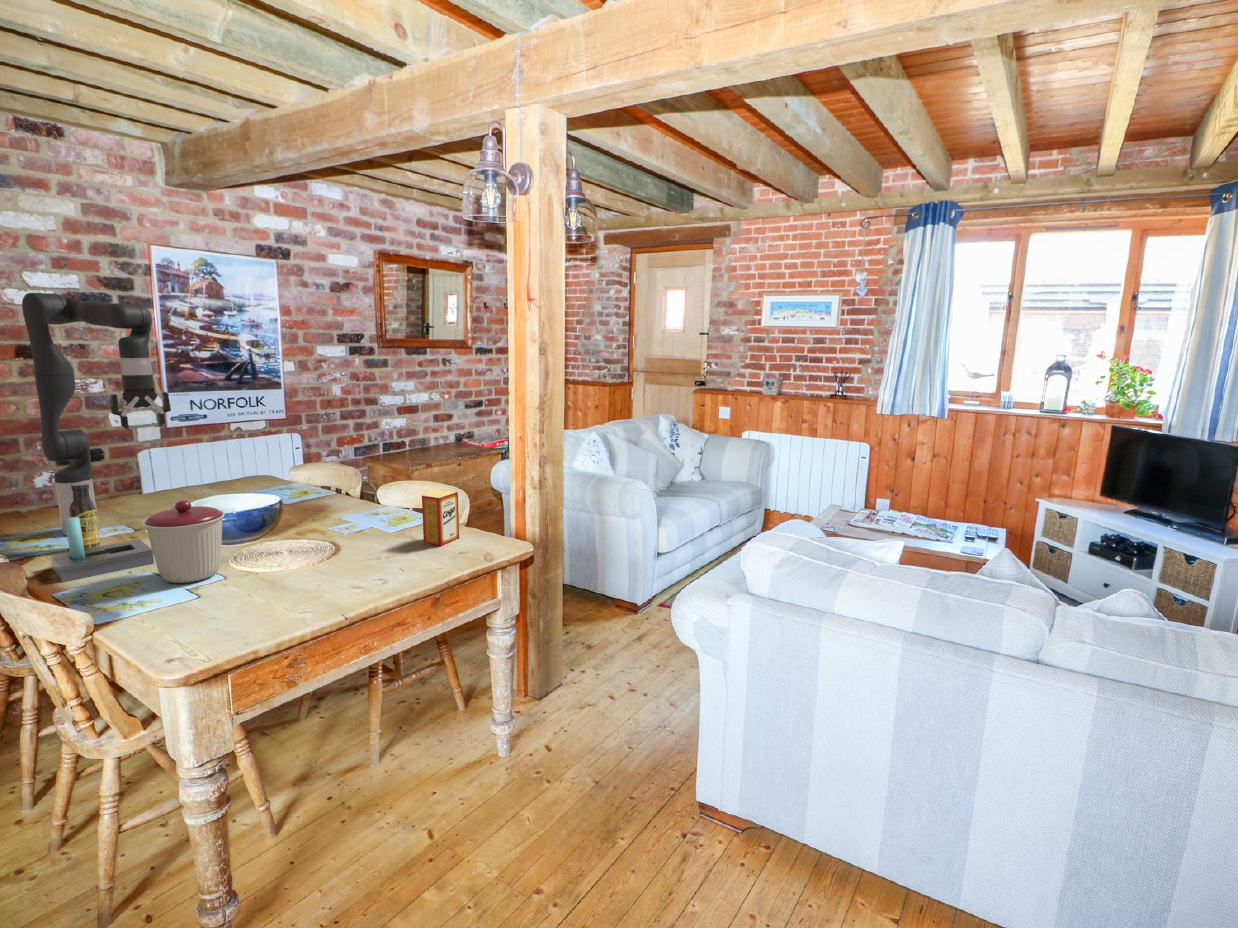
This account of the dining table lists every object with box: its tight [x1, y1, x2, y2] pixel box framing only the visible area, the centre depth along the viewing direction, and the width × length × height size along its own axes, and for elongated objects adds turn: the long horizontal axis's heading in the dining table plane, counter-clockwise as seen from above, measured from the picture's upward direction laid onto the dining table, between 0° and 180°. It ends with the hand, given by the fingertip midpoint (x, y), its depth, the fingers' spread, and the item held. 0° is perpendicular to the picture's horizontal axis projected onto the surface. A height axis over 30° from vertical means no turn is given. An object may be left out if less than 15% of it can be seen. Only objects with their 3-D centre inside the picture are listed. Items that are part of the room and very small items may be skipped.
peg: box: [65, 517, 85, 560], centre depth 174 cm, size 5×5×15 cm
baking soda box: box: [421, 489, 460, 548], centre depth 205 cm, size 10×6×16 cm
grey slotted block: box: [50, 538, 155, 583], centre depth 179 cm, size 14×20×4 cm
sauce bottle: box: [69, 483, 101, 549], centre depth 192 cm, size 7×6×20 cm
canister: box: [141, 500, 226, 584], centre depth 171 cm, size 18×18×21 cm
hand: (143, 427), depth 194 cm, fingers open, 8 cm apart
